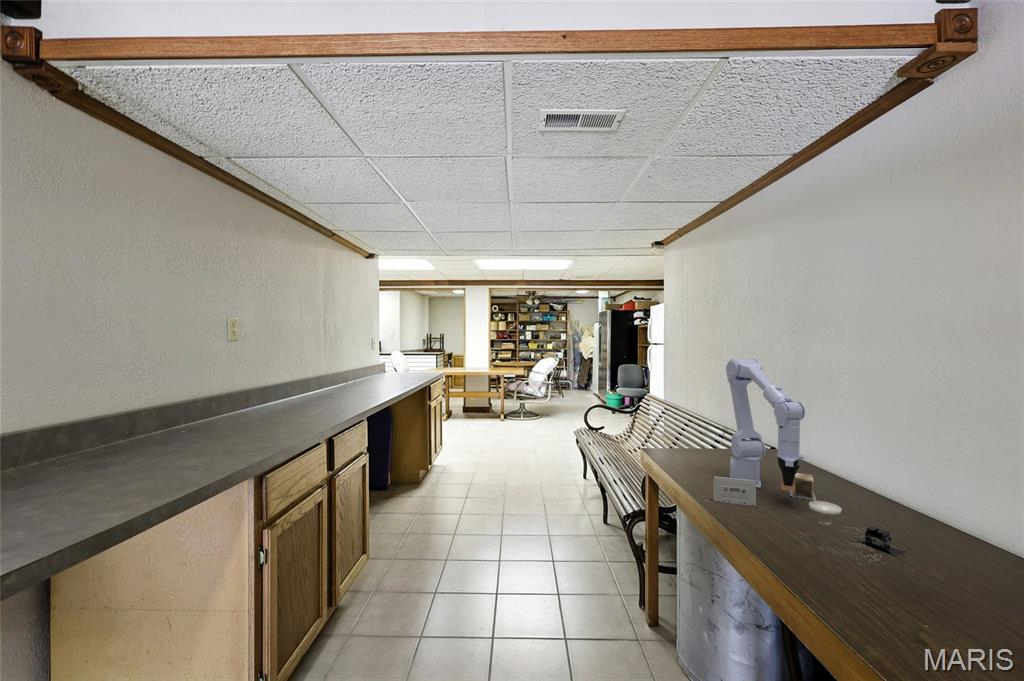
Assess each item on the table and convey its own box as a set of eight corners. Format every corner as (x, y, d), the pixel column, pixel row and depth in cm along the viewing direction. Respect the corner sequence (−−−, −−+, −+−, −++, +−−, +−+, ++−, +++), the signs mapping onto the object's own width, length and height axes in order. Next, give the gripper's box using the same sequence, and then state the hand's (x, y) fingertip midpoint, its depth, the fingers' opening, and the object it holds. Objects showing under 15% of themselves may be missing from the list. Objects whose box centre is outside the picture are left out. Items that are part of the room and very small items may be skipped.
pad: (790, 496, 144) (790, 496, 144) (789, 490, 150) (789, 489, 150) (816, 500, 140) (816, 500, 140) (814, 493, 146) (814, 493, 146)
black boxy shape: (842, 540, 114) (842, 522, 114) (857, 534, 118) (857, 517, 117) (901, 562, 103) (901, 542, 103) (916, 555, 106) (916, 536, 106)
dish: (810, 511, 132) (810, 507, 132) (807, 502, 139) (807, 498, 138) (843, 517, 128) (843, 512, 128) (839, 507, 135) (839, 503, 134)
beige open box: (793, 496, 143) (793, 477, 143) (792, 490, 149) (792, 472, 149) (813, 499, 141) (813, 480, 141) (811, 493, 146) (811, 475, 146)
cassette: (713, 501, 139) (713, 477, 139) (713, 499, 141) (713, 475, 141) (756, 506, 135) (756, 481, 135) (755, 504, 137) (755, 480, 137)
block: (781, 489, 137) (782, 473, 137) (781, 486, 140) (781, 470, 140) (794, 491, 135) (795, 475, 135) (794, 488, 138) (794, 472, 138)
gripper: (805, 447, 129) (805, 493, 129) (802, 437, 142) (801, 479, 142) (777, 444, 133) (776, 488, 133) (776, 434, 145) (776, 475, 145)
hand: (787, 483), depth 138 cm, fingers closed on block, 3 cm apart
